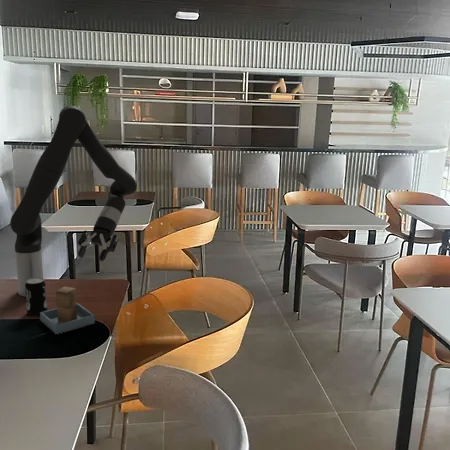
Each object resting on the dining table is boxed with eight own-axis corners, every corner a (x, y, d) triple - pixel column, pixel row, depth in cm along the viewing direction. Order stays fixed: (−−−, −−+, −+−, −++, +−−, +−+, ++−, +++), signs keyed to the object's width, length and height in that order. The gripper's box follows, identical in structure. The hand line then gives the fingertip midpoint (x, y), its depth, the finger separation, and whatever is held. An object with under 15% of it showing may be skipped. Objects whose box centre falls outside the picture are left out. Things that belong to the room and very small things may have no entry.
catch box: (40, 320, 157) (39, 312, 156) (77, 310, 165) (77, 302, 165) (56, 334, 147) (55, 325, 146) (94, 323, 156) (94, 315, 155)
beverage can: (42, 316, 160) (40, 283, 157) (23, 316, 160) (21, 283, 157) (50, 309, 166) (48, 277, 164) (32, 308, 166) (29, 276, 164)
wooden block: (66, 316, 159) (64, 286, 156) (77, 318, 158) (75, 288, 155) (57, 321, 155) (56, 290, 152) (69, 324, 153) (67, 292, 151)
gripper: (87, 213, 173) (68, 250, 165) (120, 217, 169) (103, 256, 161) (95, 224, 179) (78, 260, 171) (128, 228, 175) (111, 266, 167)
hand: (90, 258), depth 166 cm, fingers open, 8 cm apart
